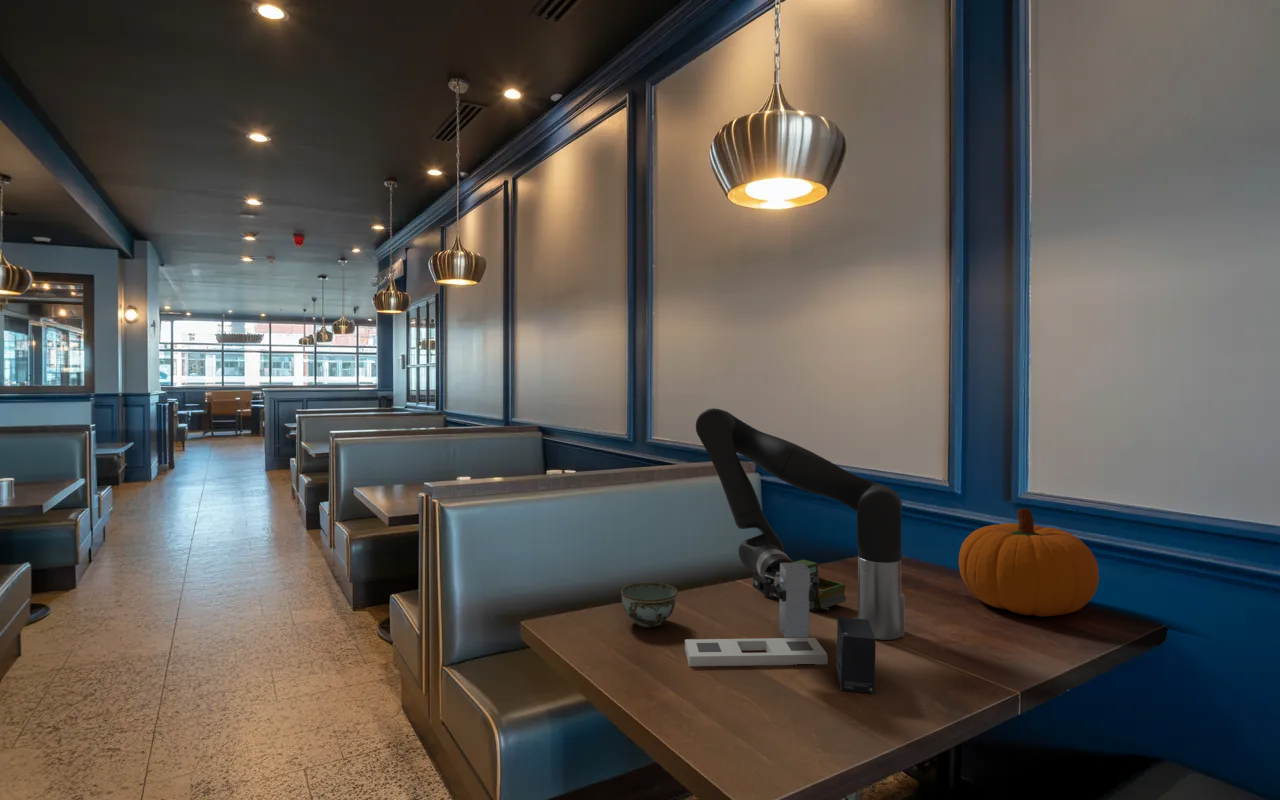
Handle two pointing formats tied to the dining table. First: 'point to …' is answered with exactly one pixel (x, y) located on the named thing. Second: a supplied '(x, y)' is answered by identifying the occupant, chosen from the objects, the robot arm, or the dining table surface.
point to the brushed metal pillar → (794, 600)
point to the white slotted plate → (776, 648)
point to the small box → (855, 655)
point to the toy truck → (822, 590)
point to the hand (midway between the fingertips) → (798, 596)
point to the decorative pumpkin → (1028, 568)
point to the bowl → (649, 602)
